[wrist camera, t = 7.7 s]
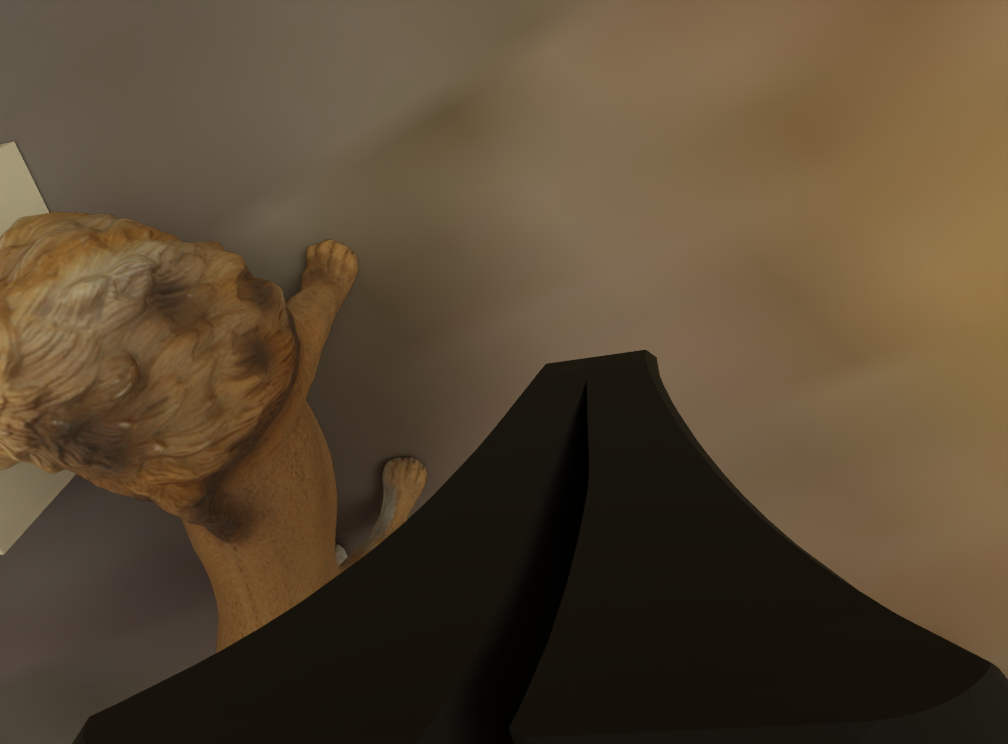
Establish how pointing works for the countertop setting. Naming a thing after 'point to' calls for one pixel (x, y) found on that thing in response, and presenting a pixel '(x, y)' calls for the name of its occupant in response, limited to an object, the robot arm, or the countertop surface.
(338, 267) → the lion figurine
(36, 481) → the book row
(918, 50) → the countertop surface
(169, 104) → the countertop surface
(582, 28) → the countertop surface
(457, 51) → the countertop surface
